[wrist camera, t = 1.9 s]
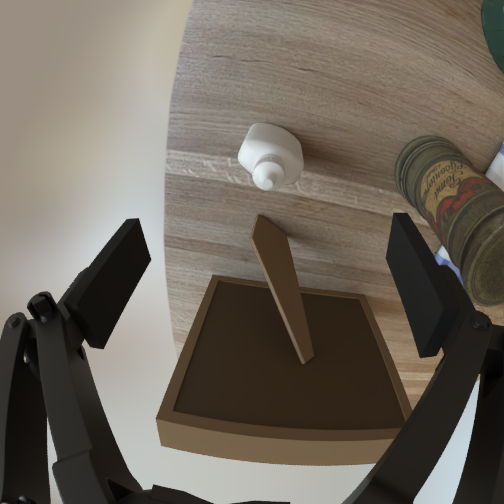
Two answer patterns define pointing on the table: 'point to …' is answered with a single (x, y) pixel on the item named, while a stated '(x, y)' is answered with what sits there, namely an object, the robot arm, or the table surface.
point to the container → (458, 212)
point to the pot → (494, 29)
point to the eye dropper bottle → (271, 156)
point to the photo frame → (283, 372)
